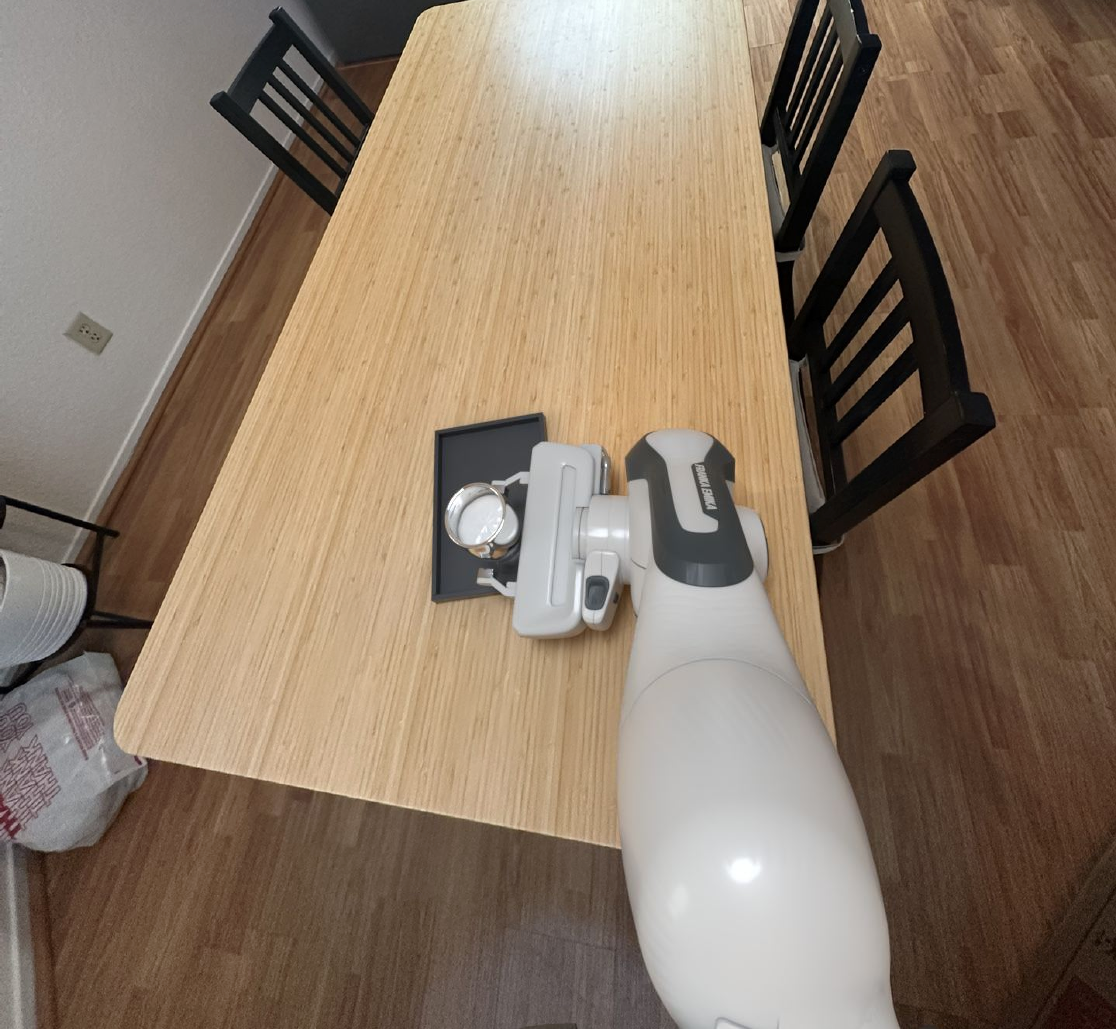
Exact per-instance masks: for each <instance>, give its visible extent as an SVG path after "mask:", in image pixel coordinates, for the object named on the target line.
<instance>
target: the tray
mask: <svg viewBox="0 0 1116 1029" xmlns="http://www.w3.org/2000/svg"><path fill="white" fill-rule="evenodd" d="M546 420H547V419H546V416H545V414H544V412H543V411H541V412H535V413H528V414H523V415H518V416H517V415H516V416H512V417H507V418H499V419H494V420H489V421H482V422H477V423H471V424H470V423H469V424H465V425H459V426H453V427H448V428H442V429H441V428H440V429H436V430H434V437H433V438H434V440H433V441H434V442H433V443H434V444H433V445H434V446H433V492H432V537H431V538H432V540H431V541H432V542H431V544H432V545H431V586H430V588H431V591H430V592H431V593H430V601H431V602H432V603H436V604H442V603H448V602H455V601H462V600H470V599H477V598H485V597H491V596H497V595H503V594H502V593H501V592H499V591H498V590H497V589H496V588H494V587H493V586H483V585H479V584H477V577H478V570H479V568H484V569H485V570H486V569H494V570H495V571H497V572H498V574H497V580H498V581H499V582H500V583H502V584H503V585H504V586H505V587H506V586H507V582H517V574H518V571H517V572H511V573H508V572H503V571H500V570H499V569H497V568H496V567H495V566H494V565H493V564H492V563H491V562H489V561H483V560H479V559H476V558H474V557H472V556H471V555H469V554H467V553H466V552H465V551H464V550H462V549H461V548H460V547H459V546H458V545H457V544H456V543H455V542H454V541H453V540H452V539H451V538H450V536H449V535H448V532H447V530H446V526H445V513H446V509H447V506H448V503H449V502H450V500H451V498H452V497H453V496H454V494H455V493H456V492H457V491H459V490H460V489H461V488H463V487H464V486H466V485H469V484H472V483H486V484H489V485H491V484H492V481H506V480H507V479H508V478H510V477H512V476H514V475H516V474H517V473H519V472H530V465H531V457H532V449H533V447H534V446H536V445H537V444H539V443H540V442H549V440H548V432H547V430H548V429H547V421H546ZM527 490H528V489H524V487H523V486H522V485H520V486H518V487H516V488H514V489H512V490H510V491H509V493H508V499H509V500H510V501H511V502H512V503H513V505H514V506H515V507H516V509H517V511H518V513H519V516H520V518H521V521H523V522H524V515H525V507H526V499H527Z"/></svg>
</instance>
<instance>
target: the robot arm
mask: <svg viewBox="0 0 1116 1029" xmlns="http://www.w3.org/2000/svg"><path fill="white" fill-rule="evenodd" d="M603 454H604V456H603ZM624 463H625V465H624V466H625V476H626V477H625V478H626V483H627V495H620V494H619V495H618V494H611V469H612V458H611V456H609V453H608V451H607V449H606V448H605V447H604V446H603V445H601V444H598V443H581V444H579V445H573V444H568V443H563V442H556V441H555V442H553V441H548V442H540V443H539V444H537V445H536V446H534V447H533V449H532V457H531V465H530V472H519V473H517V474H516V475H514V476H512V477H510V478H508V479H507V480H506V481H492V484H491V486H493V487H494V488H496V489H497V490H498V491H500V492H501V493H502V494H504V495H505V496H506V497H507V498H508V493H509V491H510V490H512V489H514V488H516V487H518V486H520V485H522V486H523V487H524V489H528V490H527V499H526V507H525V515H524V524H523V532H522V541H521V549H520V557H519V566H518V574H517V582H507V586H506V587H505V586H504V585H503V584H502V583H500V582H499V581H498V580H497V574H498V572H497V571H495V570H494V569H486V570H485V569H484V568H479V570H478V577H477V584H479V585H483V586H493V587H494V588H496V589H497V590H498V591H499V592H501V593H502V594H501V595H502V596H504V597H505V598H508V599H510V600H513V608H512V616H511V628H512V630H513V631H514V632H515V633H516V635H518V637H521V638H523V639H529V640H558V639H567V638H572V637H576V636H578V635H580V634H582V633H583V632H584V631H585V630H586V628H587V627H588V628H589V629H592V630H593V631H598V632H602V631H603V632H604V631H607V630H609V629H610V628H611V626H612V623H613V620H614V617H615V614H616V612H617V608H618V605H619V602H620V599H621V596H622V593H623V590H624V587H625V585H630V598H631V603H632V607H633V613H634V616H635V617H636V624H635V628H634V634H633V639H632V645H631V649H630V652H629V653H630V654H629V658H628V664H627V667H626V668H627V669H626V673H625V674H626V675H625V679H624V683H623V684H624V685H623V691H622V698H621V704H620V713H619V719H618V727H617V728H618V729H617V738H616V755H615V756H616V761H615V764H616V767H615V768H616V769H615V771H616V772H615V776H616V777H615V780H616V783H615V790H616V791H615V794H616V795H615V796H616V809H617V811H616V812H617V822H618V833H619V842H620V849H621V857H622V858H621V860H622V865H623V866H622V867H623V871H624V872H623V873H624V878H625V883H626V889H627V895H628V900H629V904H630V910H631V914H632V918H633V922H634V923H633V924H634V927H635V931H636V936H637V940H638V941H637V942H638V945H639V948H640V952H641V955H642V959H643V962H644V965H645V968H646V971H647V973H648V976H649V978H650V980H651V982H652V985H653V987H654V989H655V990H654V991H656V993H657V995H658V997H659V998H660V1000H661V1002H662V1004H663V1006H664V1007H665V1009H666V1011H667V1012H668V1014H669V1016H670V1018H672V1019H673V1021H674V1022H675V1024H676V1025H677V1027H678V1028H679V1029H901V1027H900V1024H899V1021H898V1019H897V1015H896V1012H895V1006H894V1003H893V997H892V987H891V946H890V933H889V923H888V919H887V913H886V908H885V904H884V899H883V894H882V889H881V883H880V879H879V874H878V870H877V866H876V863H875V860H874V857H873V852H872V849H871V845H870V842H869V838H868V834H867V829H866V826H865V823H864V820H863V816H862V814H861V811H860V808H859V804H858V801H857V798H856V795H855V792H854V790H853V787H852V785H851V782H850V780H849V776H848V775H847V772H846V770H845V766H844V764H843V762H842V759H841V757H840V754H839V752H838V750H837V748H836V745H835V743H834V741H833V739H832V736H831V734H830V733H829V731H828V729H827V726H826V725H825V722H824V720H823V718H822V716H821V714H820V712H819V710H818V707H817V706H816V703H815V702H814V699H813V697H812V695H811V693H810V690H809V689H808V686H807V685H806V684H807V683H806V682H805V680H804V678H803V676H802V675H803V674H802V673H801V671H800V668H799V667H798V664H797V662H796V660H795V658H794V656H793V653H792V651H791V648H790V646H789V645H788V642H787V640H786V638H785V635H784V632H783V631H782V630H783V629H782V628H781V626H780V623H779V621H778V619H777V618H778V617H777V616H776V614H775V611H774V608H773V606H772V602H771V601H770V598H769V595H768V592H767V590H766V587H765V585H764V584H765V583H766V580H767V578H768V573H769V569H770V566H769V565H770V551H769V550H770V549H769V544H768V543H769V542H768V537H767V534H766V529H765V526H764V523H763V520H762V519H761V517H760V515H759V514H758V513H757V511H756V510H755V509H753V508H751V507H749V506H744V505H740V504H736V503H735V483H736V458H735V457H734V455H733V454H732V453H731V451H730V450H729V449H728V448H727V447H726V446H725V445H724V444H723V443H722V442H721V441H720V440H719V439H718V438H716V437H715V436H714V435H712V434H710V433H708V432H705V431H701V430H697V429H692V428H685V427H669V428H668V427H667V428H662V429H657V430H653V431H650V432H647V433H646V434H644V435H643V436H642V437H641V438H639V440H637V442H635V444H634V445H633V446H632V447H631V449H630V450H629V451H628V453H627V454H626V455H625V456H624ZM517 1029H579V1028H578V1025H577V1023H576V1022H567V1023H563V1022H562V1023H561V1022H560V1023H545V1024H536V1025H528V1026H524V1027H518V1028H517ZM918 1029H939V1027H936V1026H935V1025H931V1024H930V1025H929V1024H924V1025H922V1026H919V1027H918Z"/></svg>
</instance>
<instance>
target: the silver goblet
mask: <svg viewBox="0 0 1116 1029" xmlns="http://www.w3.org/2000/svg"><path fill="white" fill-rule="evenodd" d="M523 524H524V522H523V521H521V518H520V516H519V513H518V511H517V509H516V507H515V506H514V505H513V503H512V502H511V501H510V500H509V499H508V498H507V497H506V496H505V495H504V494H502V493H501V492H500V491H498V490H497V489H496V488H494V487H493V486H491V485H489V484H486V483H472V484H469V485H466V486H464V487H463V488H461V489H460V490H459V491H457V492H456V493H455V494H454V496H453V497H452V498H451V500H450V502H449V503H448V506H447V509H446V513H445V526H446V530H447V532H448V535H449V536H450V538H451V539H452V540H453V541H454V542H455V543H456V544H457V545H458V546H459V547H460V548H461V549H462V550H464V551H465V552H466V553H467V554H469V555H471V556H472V557H474V558H476V559H479V560H483V561H489V562H491V563H492V564H493V565H494V566H495V567H496V568H497V569H499V570H500V571H503V572H508V573H511V572H517V571H518V566H519V557H520V549H521V541H522V532H523Z"/></svg>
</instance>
